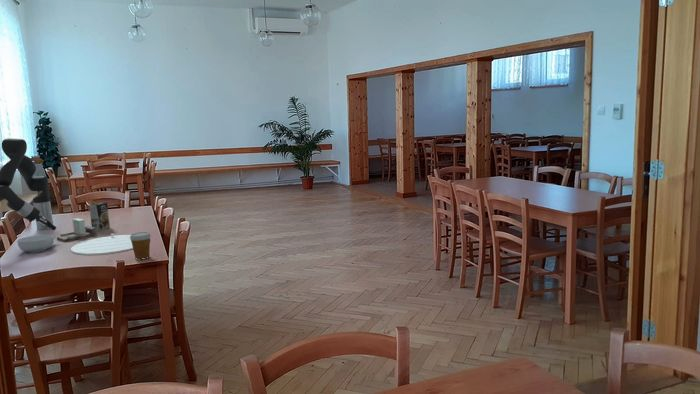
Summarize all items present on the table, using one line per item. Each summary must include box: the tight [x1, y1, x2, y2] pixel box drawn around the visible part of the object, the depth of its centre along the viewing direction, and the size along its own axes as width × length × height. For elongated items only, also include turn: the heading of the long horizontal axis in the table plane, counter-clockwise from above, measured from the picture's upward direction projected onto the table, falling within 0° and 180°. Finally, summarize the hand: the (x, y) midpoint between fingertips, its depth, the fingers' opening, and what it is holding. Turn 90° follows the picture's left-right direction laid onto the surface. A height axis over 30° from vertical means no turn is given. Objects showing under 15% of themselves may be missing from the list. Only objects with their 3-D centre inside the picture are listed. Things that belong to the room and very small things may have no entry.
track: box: [56, 225, 98, 243], centre depth 315 cm, size 18×11×4 cm, turn 137°
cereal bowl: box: [16, 234, 55, 254], centre depth 288 cm, size 17×17×7 cm
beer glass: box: [129, 231, 151, 259], centre depth 264 cm, size 10×10×12 cm
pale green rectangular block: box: [72, 218, 86, 235], centre depth 316 cm, size 3×9×8 cm, turn 47°
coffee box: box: [88, 202, 111, 232], centre depth 334 cm, size 9×6×16 cm
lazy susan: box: [70, 232, 133, 256], centre depth 294 cm, size 40×39×3 cm
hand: (55, 228), depth 306 cm, fingers closed
